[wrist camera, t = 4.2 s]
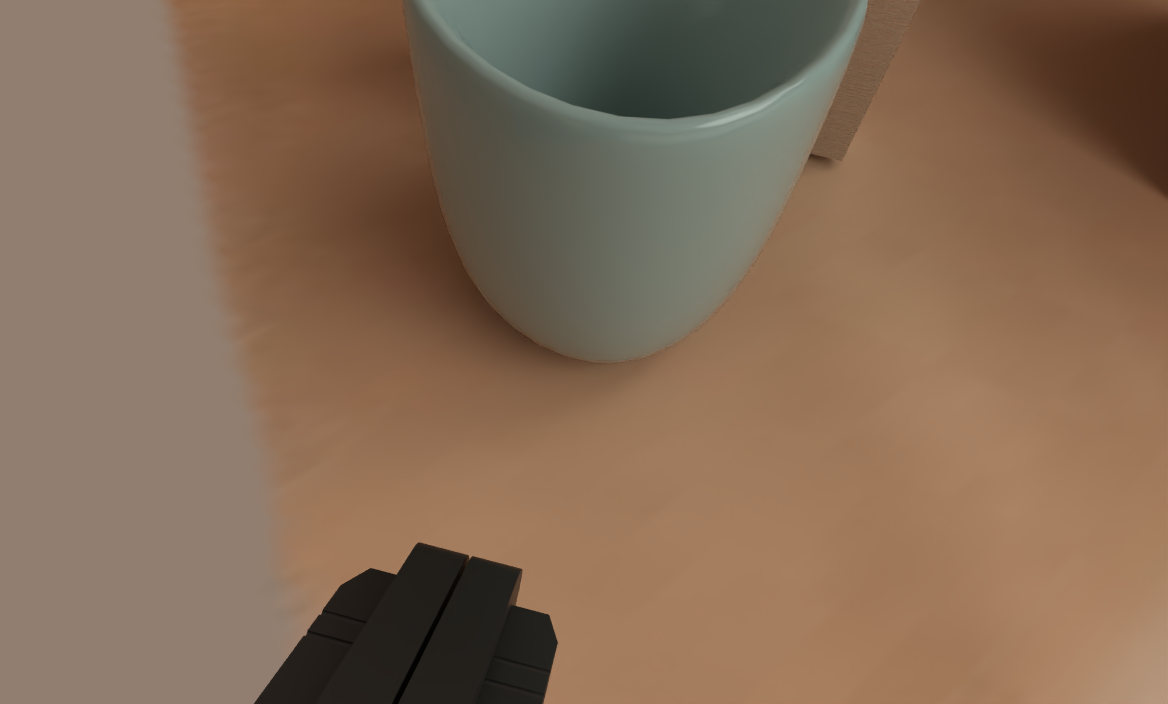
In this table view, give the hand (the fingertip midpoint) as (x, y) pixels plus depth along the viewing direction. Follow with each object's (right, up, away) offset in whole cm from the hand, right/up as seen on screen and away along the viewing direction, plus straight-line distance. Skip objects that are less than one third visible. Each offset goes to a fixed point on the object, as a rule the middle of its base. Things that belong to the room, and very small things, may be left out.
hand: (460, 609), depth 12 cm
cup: (+2, +6, +11) cm, 13 cm away
